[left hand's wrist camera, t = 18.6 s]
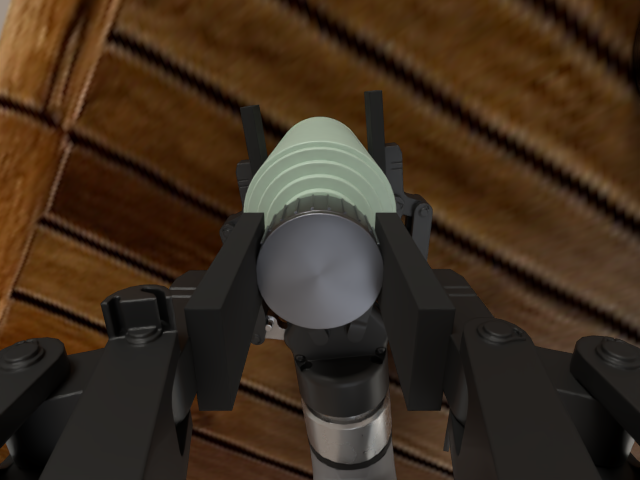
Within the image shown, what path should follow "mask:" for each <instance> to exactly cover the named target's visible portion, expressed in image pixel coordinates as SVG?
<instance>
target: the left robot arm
mask: <svg viewBox="0 0 640 480" xmlns="http://www.w3.org/2000/svg"><path fill="white" fill-rule="evenodd" d="M634 71H635V77H636V82H637V85H638V89H639V91H640V22H639V25H638V29H637V34H636V39H635V47H634ZM264 232H265V219H264V212H243V214H242V216H241V217H240V219H239V220H238V222H237V224H236V225H235V227H234V228H233V230H232V232H231V233H230V235H229V237H228V238H227V240H226V241H225V243H224V245H223V246H222V248H221V249H220V251H219V253H218V254H217V256H216V258H215V259H214V261H213V262H212V264H211V266H210V267H209V269H208V270H189V271H188V272H186V273H185V274H183V275H181V276H180V277H178V278H177V279H176V280H175V281H174V282H173V284H172V285H171V286H170V288H169V289H168V288H166V287H164V286H160V285H139V286H133V287H129V288H126V289H123V290H120V291H117V292H115V293H114V294H112V295H110V296H108V297H107V298H106V299H105V300H104V301H103V302H102V303H101V308H102V312H103V316H104V320H105V324H106V328H107V332H108V336H109V340H108V342H107V344H106V346H105V348H101V349H97V350H93V351H87V352H82V353H77V354H72V355H67V353H66V350H65V347H64V344H63V343H62V342H61V341H60V340H59V339H55V338H49V337H46V338H33V339H28V340H26V341H25V340H24V341H20V342H17V343H15V344H14V345H12V346H9V347H7V348H4V349H2V350H1V351H0V448H1V447H2V446H3V445H4V444H5V443H6V444H7V447H8V449H9V452H10V455H9V456H8V457H7V458H6V459H5V460H4V461H3V462H2V463H1V464H0V480H186V475H187V467H188V459H189V451H190V443H191V435H192V427H193V425H192V418H191V411H190V407H191V405H192V402H193V400H194V397H195V395H196V392H197V399H198V405H199V411H232V409H233V405H234V402H235V398H236V394H237V391H238V387H239V383H240V380H241V376H242V372H243V369H244V365H245V361H246V358H247V354H248V350H249V347H250V343H251V339H252V336H253V332H254V328H255V325H256V321H257V317H258V314H259V310H260V306H261V303H262V299H263V297H262V296H261V294H260V291H259V289H258V285H257V272H256V260H257V256H258V253H259V250H260V248H261V244H260V243H261V240H262V237H263V235H264ZM375 232H376V235H377V238H378V240H379V243H380V246H379V248H380V251H381V254H382V257H383V261H384V268H383V283H382V288H381V291H380V293H379V295H378V297H377V300H378V304H379V307H380V311H381V315H382V318H383V322H384V326H385V329H386V333H387V337H388V340H389V344H390V348H391V351H392V355H393V359H394V362H395V366H396V370H397V373H398V377H399V381H400V384H401V388H402V392H403V395H404V399H405V403H406V406H407V410H408V411H440V410H441V404H442V397H443V391H444V394H445V396H446V399H447V401H448V403H449V406H450V411H449V418H448V424H447V430H446V436H445V442H444V449H443V451H447V452H448V451H449V446H450V450H451V458H452V466H453V474H454V480H640V462H639V461H638V460H637V459H636V458H635V457H634V456H633V455H632V454H631V453H630V451H631V448H632V446H633V444H634V441H636V442H637V443H638V444H639V446H640V349H639V348H638V347H636V346H633V345H631V344H628V343H626V342H625V341H623V340H620V339H614V338H612V337H607V336H605V337H604V336H587V337H582V338H581V339H579V340H578V341H577V342H576V345H575V349H574V352H573V354H572V353H567V352H562V351H556V350H551V349H546V348H542V347H538V346H535V345H534V343H533V341H532V339H531V338H530V337H529V335H528V334H527V333H526V332H525V331H524V330H522V329H521V328H519V327H518V326H516V325H515V324H512V323H510V322H507V321H505V320H502V319H497V318H494V317H493V315H492V314H491V313H490V311H489V310H488V309H487V307H486V306H485V305H484V303H483V302H482V301H481V300H480V298H479V297H478V296H477V294H476V293H475V292H474V290H473V289H472V288H471V286H470V285H469V284H468V283H467V281H466V280H465V279H464V277H462V276H461V275H459V274H457V273H456V272H454V271H452V270H451V269H431V268H430V266H429V264H428V263H427V261H426V260H425V258H424V256H423V255H422V253H421V251H420V250H419V248H418V247H417V245H416V243H415V242H414V240H413V239H412V237H411V235H410V234H409V232H408V230H407V229H406V227H405V226H404V224H403V222H402V221H401V219H400V218H399V216H398V214H397V213H396V212H376V214H375Z"/></svg>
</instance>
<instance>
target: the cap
mask: <svg viewBox="0 0 640 480" xmlns="http://www.w3.org/2000/svg"><path fill="white" fill-rule="evenodd" d="M260 244H261V248H260V250H259V253H258V256H257V260H256V272H257V285H258V289H259V291H260V294H261V296H262V297H263V299H264V301H265V302H266V304H267V305H268V306H269V307H270V308H271V309H272V310H273V311H274V312H275V313H276V314H277V315H278V316H280V317H281V318H283V319H284V320H286V321H288V322H290V323H292V324H294V325H297V326H301V327H304V328H310V329H330V328H335V327H339V326H343V325H345V324H348V323H350V322H352V321H354V320H356V319H357V318H359V317H360V316H362V315H363V314H364V313H365V312H366V311H367V310H368V309H369V308H370V307H371V306H372V305H373V303H374V302H375V300H376V299H377V297H378V295H379V293H380V291H381V288H382V283H383V268H384V261H383V257H382V254H381V251H380V248H379V246H380V243H379V240H378V238H377V235H376V232H375V230H374V227H371V225H370V223H369V221H368V218H367V216H366V215H363V213H362V212H361V211H359V210H358V209H357V206H356V205H354V206H353V205H352V204H350V203H348V202H346V201H345V200H344V199H343V198H341V199H339V198H337V197H332V196H329V194H327V196H325V195H314V194H312V196H308V197H304V198H297V200H295V201H293V202H291V203H290V204H288V205H286V204H285V205H284V208H283V209H281V210H280V211H279V212H278V213H277V214H274V216H273V219H272V221H271V223H270V225H269V226H268V225H267V227H266V230H265V232H264V235H263V237H262V240H261V243H260Z"/></svg>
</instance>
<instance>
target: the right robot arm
mask: <svg viewBox="0 0 640 480" xmlns="http://www.w3.org/2000/svg"><path fill="white" fill-rule="evenodd" d="M364 95H365V110H366V125H367V140H368V153H369V154H370V156H371V157H372V158H373V160H374V161H375V162H376V164H377V165H378V166H379V167H380V169H381V170H382V172H383V173H384V174H385V176H386V177H387V179H388V181H389V183H390V185H391V188H392V191H393V193H394V197H395V202H396V213H397V214H398V216H399V218H400V219H401V217H402V214H403V215H406V217H405V227H406V229H407V230H408V232H409V234H410V235H411V237H412V239H413V240H414V242H415V243H416V245H417V247H418V248H419V250H420V251H421V253H422V255H423V256H424V258H425V260H426V261H427V255H428V247H429V238H430V230H431V221H432V213H433V211H432V207H431V206H430V205H429V204H428V203H427V202H426V201H425V200H424V198H423V197H422V196H420V195H418V194H414V195H413V194H408V193H405V192H404V190H403V170H402V152H401V150H400V148H399V145H397V144H396V143H386V144H385V140H384V121H383V101H382V90H375V91H366V92H364ZM240 111H241V117H242V122H243V128H244V133H245V139H246V144H247V150H248V155H249V160H241V161H240V162H239V163H238V164H237V168H236V176H237V180H238V186H239V191H240V196H241V201H242V206H243V210H242V211H241V212H239V213H237V214H233V215H230V216H229V218H228V219H227V220H226V222H225V223H224V225H223V226H222V227H221V229H220V237H221V239H222V242H223V245H224V243H225V241H226V240H227V238H228V237H229V235H230V233H231V232H232V230H233V228H234V227H235V225H236V224H237V222H238V220H239V219H240V217H241V216H242V214H243V212H244V202H245V197H246V193H247V191H248V188H249V185H250V183H251V181H252V179H253V177H254V176H255V174H256V173H257V172H258V170H259V169H260V167H261V166H262V165H263V163H264V162H265V161H266V160H267V158H268V156H267V150H266V144H265V138H264V132H263V126H262V120H261V114H260V108H259V105H253V106H246V107H242V108H240ZM265 338H270V339H281V340H284V341H285V343H286V345H287V346H288V347H289V348H290V349H291V351H292V353H293V355H294V361H295V367H296V372H297V378H298V384H299V390H300V394H301V402H302V408H303V413H304V418H305V424H306V429H307V436H308V440H309V444H310V451H311V458H312V466H313V479H314V480H397V478H396V472H395V465H394V455H393V445H392V419H391V404H390V391H389V372H388V356H387V343H388V337H387V333H386V329H385V326H384V322H383V318H382V315H381V311H380V307H379V304H378V303H377V302H376V301H375V302H374V303H373V305H372V306H371V307H370V308H369V309H368V310H367V311H366V312H365V313H364V314H363V315H362V316H360V317H359V318H357V319H356V320H354V321H352V322H350V323H348V324H345V325H343V326H339V327H335V328H330V329H310V328H304V327H301V326H297V325H294V324H292V323H290V322H288V321H287V323H284V322H282V321H281V320H280V319H279V316H278V315H277V314H276V313H275V312H274V311H273V310H272V309H271V308H270V307H269V306H268V305H267V304H266V302H265V301H264V299H262V303H261V306H260V310H259V314H258V317H257V321H256V325H255V328H254V332H253V336H252V339H251V343H253V344H255V345H260V344H262V343H263V342H264V340H265Z"/></svg>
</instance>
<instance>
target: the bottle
mask: <svg viewBox="0 0 640 480" xmlns="http://www.w3.org/2000/svg"><path fill="white" fill-rule="evenodd" d="M312 194H314V195H325V196H327V194H329V196H332V197H337V198H339V199H341V198H343V199H344V200H345V201H346V202H348V203H350V204H352V205H353V206H354V205H356V206H357V209H358V210H359V211H361V212H362V213H363V215H366V216H367V218H368V221H369V223H370V225H371V227H374V230H375V214H376V212H396V202H395V197H394V193H393V191H392V188H391V185H390V183H389V181H388V179H387V177H386V176H385V174H384V173H383V172H382V170H381V169H380V167H379V166H378V165H377V164H376V162H375V161H374V160H373V158H372V157H371V156H370V154H369V153H368V152H367V150H366V149H365V148H364V146H363V145H362V144H361V142H360V141H359V140H358V139H357V137H356V136H355V135H354V133H353V132H352V131H351V130H350V129H349V128H348V127H347V126H346V125H344V124H343V123H341V122H339V121H337V120H335V119H331V118H327V117H313V118H309V119H305V120H303V121H301V122H299V123H297V124H296V125H295V126H293V127H292V128H291V129H290V130H289V131H288V132H287V133H286V135H285V136H284V137H283V139H282V140H281V141H280V142H279V144H278V145H277V146H276V148H275V149H274V150H273V152H272V153H271V154H270V156H269V157H268V158H267V160H266V161H265V162H264V163H263V165H262V166H261V167H260V169H259V170H258V172H257V173H256V174H255V176H254V177H253V179H252V181H251V183H250V185H249V188H248V191H247V193H246V197H245V202H244V212H264V219H265V230H266V227H267V225H268V226H269V225H270V223H271V221H272V219H273V216H274V214H277V213H278V212H279V211H280V210H281V209H283V208H284V205H285V204H286V205H288V204H290V203H291V202H293V201H295V200H297V198H304V197H308V196H312Z"/></svg>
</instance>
